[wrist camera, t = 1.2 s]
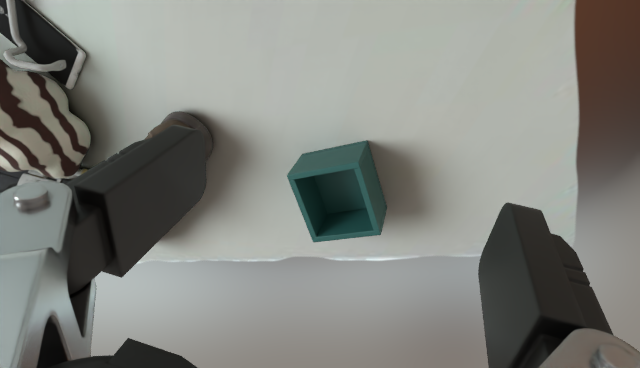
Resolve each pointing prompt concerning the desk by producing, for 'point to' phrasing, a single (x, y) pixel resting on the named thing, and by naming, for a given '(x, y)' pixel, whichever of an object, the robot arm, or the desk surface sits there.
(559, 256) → the robot arm
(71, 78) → the smartphone
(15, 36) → the bracket
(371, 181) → the teal open storage bin
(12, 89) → the sculpture
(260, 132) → the desk surface
